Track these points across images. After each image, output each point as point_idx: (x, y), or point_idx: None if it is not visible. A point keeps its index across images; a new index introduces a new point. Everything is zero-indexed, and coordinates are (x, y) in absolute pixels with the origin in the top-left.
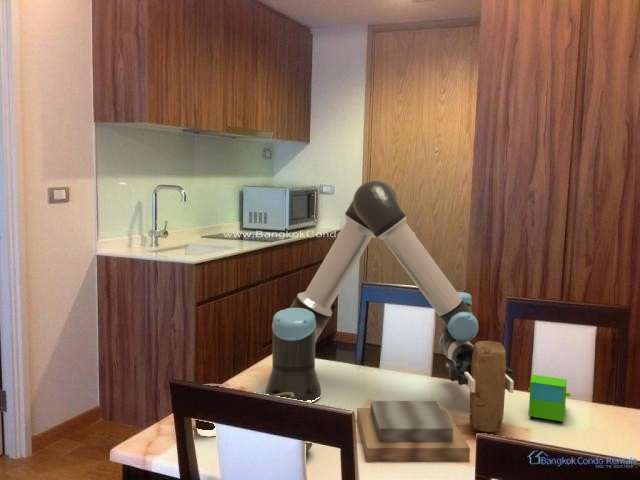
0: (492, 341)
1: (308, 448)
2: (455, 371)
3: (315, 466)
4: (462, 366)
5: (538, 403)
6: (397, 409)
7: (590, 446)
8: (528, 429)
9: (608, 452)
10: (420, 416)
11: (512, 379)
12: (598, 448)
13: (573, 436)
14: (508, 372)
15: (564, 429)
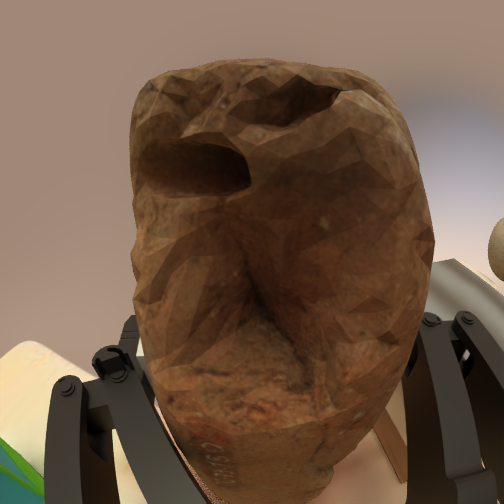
0: (216, 64)
1: (489, 260)
2: (455, 318)
3: (471, 268)
4: (466, 410)
5: (36, 481)
6: (486, 314)
7: (48, 372)
8: (124, 462)
9: (40, 353)
10: (434, 301)
11: (131, 316)
12: (42, 365)
13: (44, 412)
14: (87, 404)
15: (38, 445)
